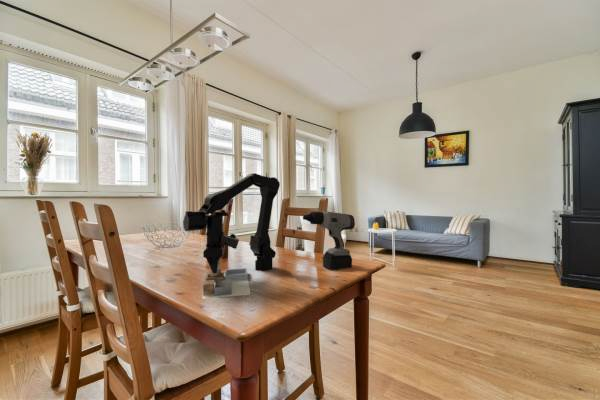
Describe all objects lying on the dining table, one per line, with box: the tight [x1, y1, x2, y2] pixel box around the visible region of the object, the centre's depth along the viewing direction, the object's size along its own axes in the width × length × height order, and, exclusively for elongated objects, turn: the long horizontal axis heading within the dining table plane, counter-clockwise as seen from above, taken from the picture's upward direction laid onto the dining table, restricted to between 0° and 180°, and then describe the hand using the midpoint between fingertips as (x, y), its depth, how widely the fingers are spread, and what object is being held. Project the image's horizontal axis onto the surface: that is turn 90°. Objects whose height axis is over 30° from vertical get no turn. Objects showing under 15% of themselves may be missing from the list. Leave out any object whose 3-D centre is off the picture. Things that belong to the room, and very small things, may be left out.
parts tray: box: [224, 267, 249, 281], centre depth 98 cm, size 8×8×2 cm
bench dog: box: [202, 280, 214, 296], centre depth 83 cm, size 3×4×3 cm
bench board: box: [201, 273, 251, 300], centre depth 91 cm, size 14×25×1 cm, turn 14°
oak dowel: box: [209, 257, 222, 277], centre depth 96 cm, size 4×4×8 cm
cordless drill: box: [302, 210, 356, 271], centre depth 115 cm, size 8×24×25 cm, turn 113°
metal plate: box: [215, 279, 232, 296], centre depth 84 cm, size 5×7×2 cm
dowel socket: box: [205, 271, 225, 282], centre depth 96 cm, size 6×6×2 cm
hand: (215, 271), depth 96 cm, fingers closed on oak dowel, 4 cm apart
